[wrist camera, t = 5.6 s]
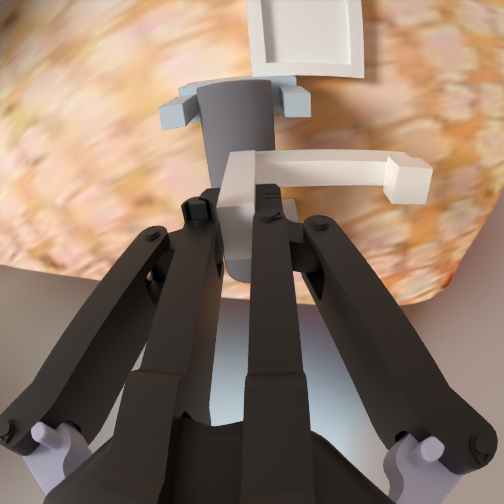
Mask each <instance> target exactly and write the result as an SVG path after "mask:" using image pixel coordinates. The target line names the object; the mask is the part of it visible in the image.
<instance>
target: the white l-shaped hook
mask: <svg viewBox="0 0 504 504" xmlns="http://www.w3.org/2000/svg"><path fill="white" fill-rule="evenodd" d="M432 173H433V168H432V167H431V166H430V165H429V164H427V163H426V162H425V161H424V160H423V159H421V158H415V157H409V156H408V155H407V154H406V153H405V152H396V151H379V150H350V149H306V150H276V151H258V152H256V175H257V184H273V183H275V184H276V185H277V186H279V187H300V186H342V185H381V186H384V187H383V192H384V193H385V195H386V196H387V198H388V199H389V200H390V202H391V203H392V204H426V200H427V196H428V191H429V187H430V182H431V178H432Z"/></svg>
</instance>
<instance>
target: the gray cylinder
mask: <svg viewBox="0 0 504 504" xmlns="http://www.w3.org/2000/svg"><path fill="white" fill-rule="evenodd" d="M196 90H197V97H198V104H199V111H200V118H201V125H202V131H203V138H204V144H205V151H206V157H207V163H208V169H209V175H210V181H211V187H212V188H221V186H222V182H223V178H224V174H225V170H226V166H227V162H228V158H229V154H230V152H237V151H251V150H255V155H256V152H258V151H275V134H274V117H273V101H272V86H271V80H261V79H254V80H237V81H228V82H221V83H215V84H210V85H205V86H201V87H198V88H197V89H196ZM223 255H224V254H223ZM224 260H225V256H224ZM225 266H226V270H227V273H228V274H229V276H230V277H232V278H233V279H234V280H236V281H239V282H243V283H251V259H235V260H225Z"/></svg>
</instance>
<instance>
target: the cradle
mask: <svg viewBox="0 0 504 504" xmlns="http://www.w3.org/2000/svg"><path fill="white" fill-rule="evenodd" d="M254 79H261V80H271V86H272V101H273V114H285V117H286V118H288V117H311V93H309V92H308V91H307V90H305V89H304V88H303V87H301V86H297V83H296V77H294V76H293V75H287V76H261V77H253V76H244V77H233V78H224V79H216V80H208V81H201V82H195V83H189V84H187V85H185V86H183V87H180V88H178V90H179V97H176V98H174V99H172V100H171V101H169V102H167V103H166V104H164V105H162V106H161V107H159V114H160V119H161V124H162V129H163V130H167V129H173V128H179V127H186V126H187V125H188V123H189V122H196V121H201V118H200V111H199V104H198V97H197V90H196V89H197V88H198V87H201V86H205V85H210V84H215V83H221V82H228V81H237V80H254ZM282 206H283V213H284V214H285V217H286V218H287V219H289V220H290V221H293V222H297V223H299V219H298V214H297V210H296V205H295V201H294V199H282Z"/></svg>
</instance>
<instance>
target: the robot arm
mask: <svg viewBox="0 0 504 504" xmlns="http://www.w3.org/2000/svg"><path fill="white" fill-rule="evenodd" d="M181 208H182V212H183V216H184V220H185V224H184V227H183V229H180V230H177V231H174V232H170V233H167V229H166V228H165V227H163V226H152V227H148V228H147V229H145V230H143V231H142V232H141V233H140V234H139V235H138V236H137V237H136V238H135V240H134V241H133V242H132V243H131V244H130V246H129V247H128V248H127V249H126V250H125V252H124V253H123V254H122V255H121V256H120V258H119V259H118V260H117V261H116V263H115V264H114V265H113V266H112V268H111V269H110V270H109V271H108V273H107V274H106V275H105V276H104V278H103V279H102V280H101V282H100V283H99V284H98V286H97V287H96V288H95V289H94V291H93V292H92V294H91V295H90V296H89V298H88V299H87V300H86V302H85V303H84V304H83V306H82V307H81V309H80V310H79V311H78V313H77V314H76V316H75V317H74V319H73V320H72V321H71V323H70V324H69V326H68V327H67V329H66V330H65V331H64V333H63V334H62V336H61V337H60V339H59V341H58V342H57V344H56V345H55V347H54V348H53V350H52V351H51V353H50V355H49V356H48V358H47V359H46V361H45V363H44V364H43V366H42V367H41V369H40V371H39V372H38V374H37V376H36V377H35V379H34V381H33V382H32V384H31V385H30V386H28V387H27V388H26V389H25V390H24V391H23V392H22V393H21V394H20V395H19V397H18V398H17V399H15V401H13V403H12V404H11V405H10V406H9V407H8V408H7V409H6V410H5V411H4V412H3V413H2V414H1V415H0V444H1V445H2V446H4V447H6V448H7V449H9V450H11V451H13V452H15V453H17V454H19V455H21V456H22V457H23V458H24V460H25V461H26V464H27V465H28V467H29V469H30V471H31V472H32V474H33V475H34V477H35V479H36V481H37V482H38V484H39V485H40V487H41V488H42V490H43V491H44V493H45V494H46V497H45V499H44V502H43V504H440V503H441V502H442V501H443V500H444V498H445V497H446V496H447V495H448V494H449V493H450V491H451V490H452V489H453V488H454V486H455V485H456V484H457V483H458V481H459V480H460V479H461V478H462V477H463V476H464V475H465V474H467V473H470V472H472V471H475V470H477V469H480V468H482V467H484V466H485V465H487V464H488V463H489V462H490V461H491V460H492V458H493V457H494V454H495V452H496V450H497V442H498V440H497V435H496V431H495V430H494V428H493V427H492V426H491V425H490V424H489V423H488V422H487V421H486V420H485V419H484V418H483V417H482V416H481V415H480V414H479V413H478V412H477V411H475V410H474V409H473V408H472V407H471V406H470V405H469V404H468V403H467V402H466V401H465V400H464V399H462V398H461V397H460V396H459V395H458V394H457V393H456V392H455V391H454V390H452V389H451V388H450V387H449V385H448V383H447V381H446V380H445V378H444V376H443V374H442V373H441V371H440V369H439V368H438V366H437V364H436V363H435V361H434V359H433V358H432V356H431V354H430V353H429V351H428V350H427V348H426V346H425V345H424V343H423V342H422V340H421V338H420V337H419V335H418V334H417V332H416V331H415V329H414V328H413V326H412V325H411V323H410V322H409V320H408V319H407V317H406V316H405V314H404V313H403V311H402V310H401V308H400V307H399V305H398V304H397V302H396V301H395V300H394V298H393V297H392V295H391V294H390V293H389V291H388V290H387V288H386V287H385V286H384V284H383V283H382V281H381V280H380V279H379V277H378V276H377V275H376V273H375V272H374V270H373V269H372V268H371V266H370V265H369V264H368V262H367V261H366V260H365V258H364V257H363V256H362V255H361V253H360V252H359V251H358V249H357V248H356V247H355V246H354V244H353V243H352V242H351V240H350V239H349V238H348V237H347V235H346V234H345V233H344V232H343V230H342V229H341V228H340V227H339V225H338V224H337V223H336V222H335V221H334V220H333V219H332V218H329V217H327V216H322V215H315V216H311V217H308V218H307V219H305V221H304V223H303V224H302V223H297V222H293V221H290V220H289V219H287V218H286V217H285V214H284V213H283V206H282V199H281V192H280V187H279V186H277V185H276V184H275V183H273V184H257V175H256V155H255V150H251V151H237V152H230V154H229V158H228V162H227V166H226V170H225V174H224V178H223V182H222V186H221V188H209V189H206V190H205V191H204V192H203V193H202V194H201V196H198V197H193V198H190V199H188V200H186V201H185V202H183V204H182V205H181ZM223 254H224V256H225V260H235V259H251V288H250V319H249V320H250V321H249V352H248V353H249V354H248V373H247V376H246V380H245V391H244V393H245V394H244V419H243V421H241V422H236V423H232V424H227V425H221V426H211V418H210V412H209V401H210V390H211V381H212V371H213V361H214V352H215V342H216V333H217V325H218V316H219V308H220V299H221V291H222V283H223V275H224V262H223ZM293 271H297V272H301V274H302V278H303V280H304V282H305V284H306V286H307V288H308V290H309V291H310V293H311V295H312V297H313V299H314V302H315V304H316V306H317V307H318V309H319V312H320V314H321V316H322V318H323V320H324V322H325V324H326V326H327V328H328V330H329V332H330V334H331V336H332V338H333V340H334V342H335V345H336V347H337V349H338V350H339V353H340V355H341V357H342V359H343V361H344V364H345V365H346V368H347V370H348V372H349V374H350V376H351V378H352V381H353V383H354V385H355V387H356V389H357V392H358V394H359V396H360V398H361V400H362V403H363V405H364V407H365V409H366V412H367V414H368V416H369V418H370V421H371V423H372V425H373V427H374V429H375V431H376V433H377V434H378V436H379V438H380V439H381V441H382V442H383V444H384V445H385V447H386V448H387V449H388V450H389V451H388V452H387V454H386V456H385V458H384V463H383V467H384V472H385V474H386V476H387V478H388V480H389V483H390V491H389V495H388V496H387V495H385V494H384V493H383V492H382V491H381V490H380V489H379V488H378V487H376V486H375V485H374V484H373V483H372V482H371V481H370V480H369V479H368V478H366V477H365V476H364V475H363V474H362V473H361V472H360V471H359V470H358V469H357V468H356V467H355V466H354V465H352V464H351V463H350V462H349V461H348V460H347V459H346V458H345V457H344V456H343V455H342V454H341V453H340V452H339V451H338V450H337V449H336V448H335V447H334V446H333V445H332V444H331V443H330V442H328V440H326V439H325V438H323V437H322V436H321V435H319V434H317V433H315V432H313V431H311V430H310V429H311V428H310V414H309V401H308V389H307V380H306V375H305V373H304V371H303V364H302V353H301V342H300V332H299V322H298V313H297V304H296V295H295V286H294V278H293ZM149 272H150V274H151V275H150V277H149V278H148V279H147V278H146V277H147V275H148V273H149ZM146 342H147V344H146ZM145 344H146V348H145V352H144V356H143V359H142V363H141V366H140V368H139V369H138V370H134V371H131V370H132V368H133V366H134V365H135V362H136V360H137V359H138V357H139V355H140V353H141V351H142V350H143V348H144V346H145ZM124 384H125V386H124V390H123V394H122V399H121V403H120V407H119V411H118V416H117V420H116V425H115V429H114V434H113V436H112V437H111V438H110V439H109V440H108V441H107V442H106V443H105V444H103V445H102V446H101V447H100V448H99V449H98V450H97V451H96V452H95V453H94V454H92V452H91V450H90V449H89V448H88V445H89V444H90V443H91V442H92V441H93V440H94V438H95V437H96V436H97V434H98V433H99V431H100V430H101V428H102V426H103V425H104V423H105V421H106V419H107V417H108V415H109V413H110V411H111V409H112V407H113V405H114V403H115V401H116V399H117V397H118V395H119V393H120V391H121V389H122V388H123V385H124Z"/></svg>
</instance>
